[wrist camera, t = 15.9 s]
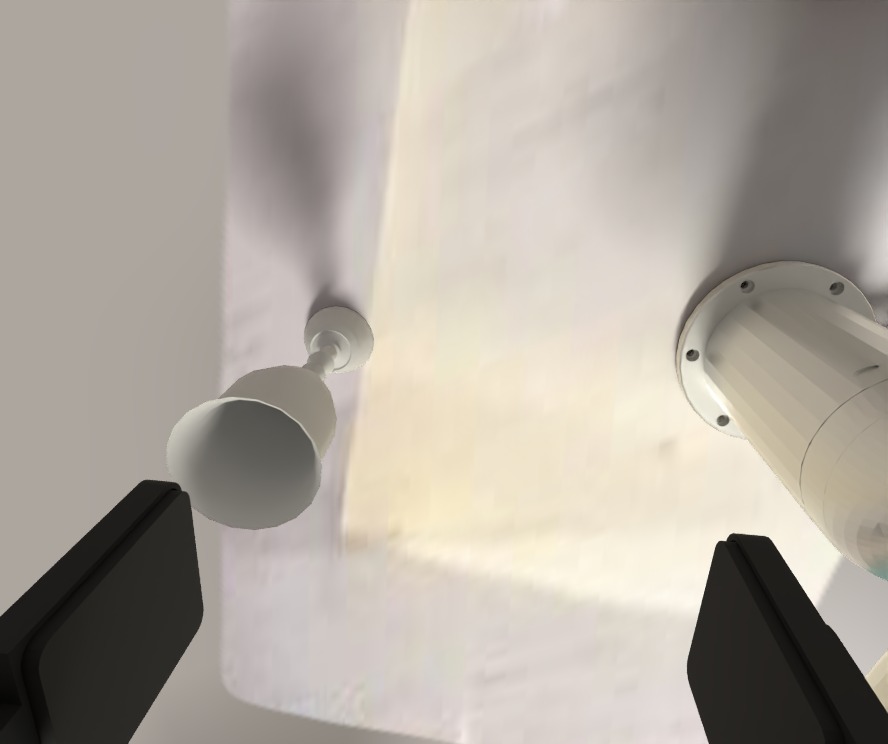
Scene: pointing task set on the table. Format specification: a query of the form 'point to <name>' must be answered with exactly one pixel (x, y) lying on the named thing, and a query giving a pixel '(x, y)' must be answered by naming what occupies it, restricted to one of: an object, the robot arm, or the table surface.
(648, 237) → the table surface
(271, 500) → the chalice
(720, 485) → the table surface
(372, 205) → the table surface
